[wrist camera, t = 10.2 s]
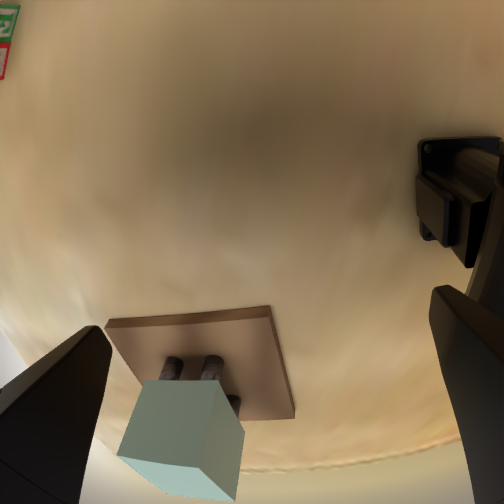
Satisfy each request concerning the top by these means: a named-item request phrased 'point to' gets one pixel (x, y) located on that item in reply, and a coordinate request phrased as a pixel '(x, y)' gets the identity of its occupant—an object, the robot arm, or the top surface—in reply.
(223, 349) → the peg stand
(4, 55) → the stack of blocks
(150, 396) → the teal block
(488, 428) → the robot arm
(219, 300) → the top surface
